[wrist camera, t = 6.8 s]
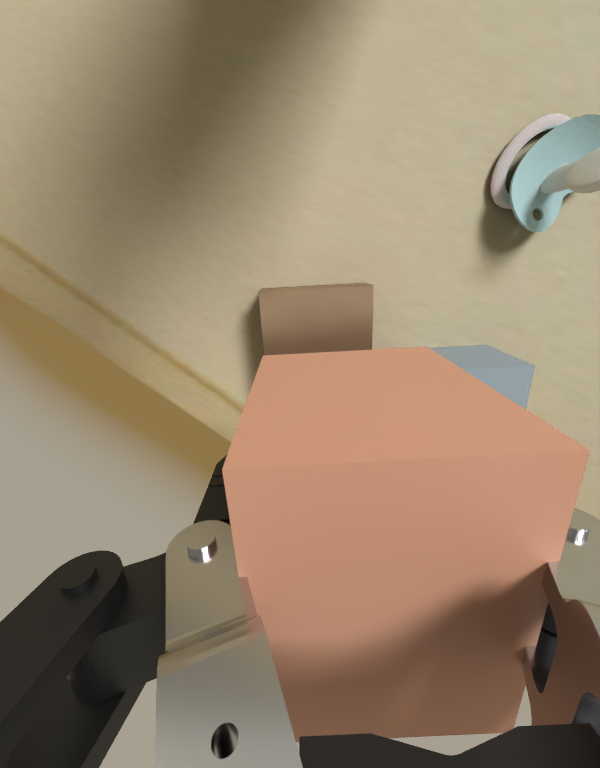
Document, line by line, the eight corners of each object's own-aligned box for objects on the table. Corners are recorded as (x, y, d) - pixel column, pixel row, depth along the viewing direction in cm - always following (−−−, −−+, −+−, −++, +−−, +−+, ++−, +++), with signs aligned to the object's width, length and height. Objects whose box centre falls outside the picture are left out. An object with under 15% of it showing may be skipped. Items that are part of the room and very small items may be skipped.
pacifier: (466, 188, 24) (519, 245, 25) (519, 162, 18) (585, 238, 20) (550, 92, 22) (604, 159, 24) (639, 28, 16) (704, 122, 18)
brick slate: (405, 403, 30) (430, 436, 24) (408, 348, 28) (436, 370, 22) (478, 399, 30) (521, 432, 24) (486, 344, 28) (534, 365, 22)
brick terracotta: (262, 355, 10) (222, 469, 5) (427, 346, 10) (590, 450, 5) (278, 525, 12) (264, 743, 7) (413, 518, 12) (512, 732, 7)
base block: (262, 288, 26) (258, 291, 23) (364, 282, 26) (373, 285, 23) (270, 384, 29) (267, 398, 26) (363, 379, 29) (370, 392, 26)
